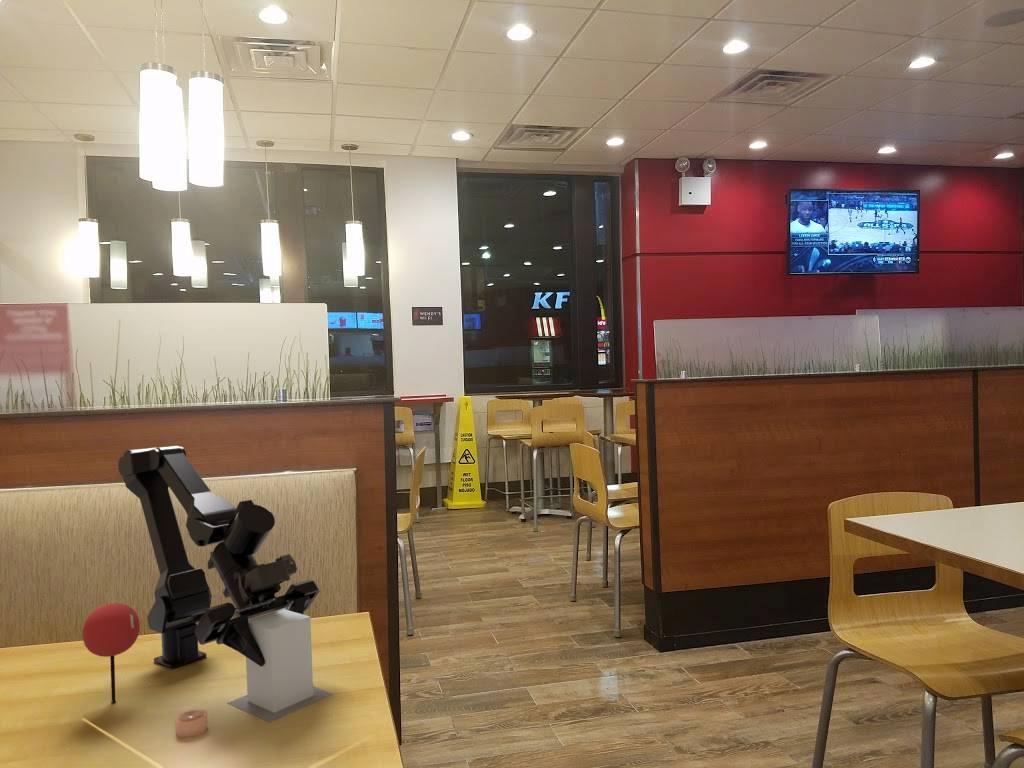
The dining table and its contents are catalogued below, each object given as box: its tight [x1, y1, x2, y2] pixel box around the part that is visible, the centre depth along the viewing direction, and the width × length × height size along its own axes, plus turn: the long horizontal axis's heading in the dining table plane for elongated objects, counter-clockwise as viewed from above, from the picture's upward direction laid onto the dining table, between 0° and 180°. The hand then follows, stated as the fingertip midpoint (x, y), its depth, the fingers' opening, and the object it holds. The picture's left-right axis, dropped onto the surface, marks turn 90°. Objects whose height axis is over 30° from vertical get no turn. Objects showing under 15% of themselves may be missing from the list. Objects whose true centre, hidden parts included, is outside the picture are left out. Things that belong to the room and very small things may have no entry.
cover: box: [245, 609, 314, 713], centre depth 110 cm, size 7×7×12 cm
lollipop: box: [82, 602, 141, 704], centre depth 111 cm, size 8×8×15 cm
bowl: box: [175, 709, 209, 739], centre depth 100 cm, size 4×4×3 cm
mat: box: [227, 685, 334, 723], centre depth 110 cm, size 11×11×1 cm
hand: (284, 656), depth 109 cm, fingers closed on cover, 7 cm apart
